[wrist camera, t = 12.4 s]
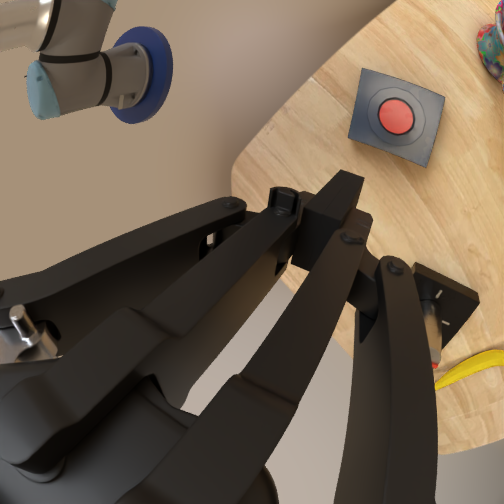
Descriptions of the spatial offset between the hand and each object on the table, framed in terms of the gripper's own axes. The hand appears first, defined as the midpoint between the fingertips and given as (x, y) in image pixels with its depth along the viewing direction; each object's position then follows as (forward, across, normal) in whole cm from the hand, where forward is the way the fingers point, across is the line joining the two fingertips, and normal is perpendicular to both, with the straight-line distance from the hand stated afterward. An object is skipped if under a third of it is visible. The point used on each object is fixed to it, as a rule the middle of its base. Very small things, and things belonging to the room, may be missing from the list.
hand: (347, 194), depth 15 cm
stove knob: (+17, +15, -18) cm, 29 cm away
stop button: (+16, +2, +5) cm, 17 cm away
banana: (+19, +31, -24) cm, 44 cm away
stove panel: (+19, +16, -18) cm, 31 cm away
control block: (+19, +2, +5) cm, 20 cm away
